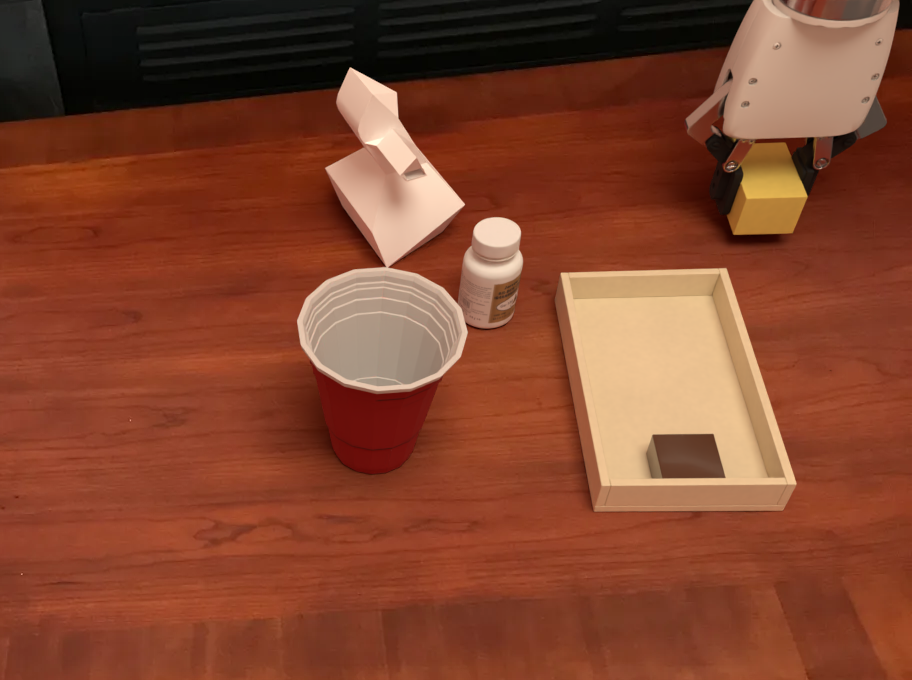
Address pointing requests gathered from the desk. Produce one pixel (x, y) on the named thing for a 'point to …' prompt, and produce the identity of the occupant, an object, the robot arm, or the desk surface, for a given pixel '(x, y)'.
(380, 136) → the white faceted sculpture
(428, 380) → the plastic cup
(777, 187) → the yellow rectangular block
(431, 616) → the desk surface
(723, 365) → the tray
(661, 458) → the brown flat square block
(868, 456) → the desk surface
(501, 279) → the pill bottle
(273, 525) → the desk surface
